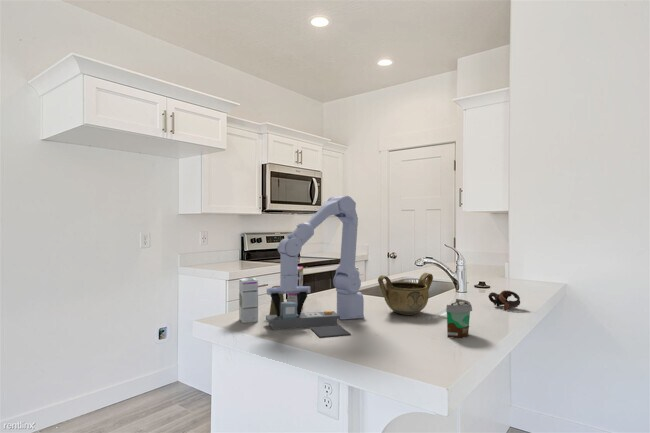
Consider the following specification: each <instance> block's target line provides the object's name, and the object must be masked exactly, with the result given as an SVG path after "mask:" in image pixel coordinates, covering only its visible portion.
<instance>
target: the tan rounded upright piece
mask: <svg viewBox="0 0 650 433" xmlns="http://www.w3.org/2000/svg"><path fill="white" fill-rule="evenodd" d="M274 287H280V285H274V286H271V288H274ZM284 295H285V294H279V297H280V314H281V302H285V300H284V299H285V298H284ZM268 315H276V309H275V305H274V303H273V300H272V298H271V301H270V308H269V314H268Z"/></svg>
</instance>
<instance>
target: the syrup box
mask: <svg viewBox="0 0 650 433" xmlns="http://www.w3.org/2000/svg"><path fill="white" fill-rule="evenodd" d="M238 280H239V282H238V283H239V287H238V289H239V293H238V295H239V298H238V300H239V301H238V303H239V305H238V309H239V311H238V312H239V313H238V314H239V318H238V320H239V321H240V322H241V323H242V324H248V323H249V324H250V323H258V322H259V280H257V278H254V277H246V278H245V277H244V278H239V279H238Z"/></svg>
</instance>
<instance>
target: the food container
mask: <svg viewBox="0 0 650 433" xmlns="http://www.w3.org/2000/svg"><path fill="white" fill-rule="evenodd" d="M445 312H446V328H447V329H446V330H447V332H446V333H447V338H449V337H454V338H453V339H464V338H463V337H465V338H468V337H469V331H470V330H469V329H470V317H471V316H470V315H471V312H473V306H472V304H471V302H470V301H469V300H465V299H462V298H461V299H460V298H456V299H455V302H452V303H450V304H446V310H445Z"/></svg>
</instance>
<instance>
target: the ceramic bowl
mask: <svg viewBox="0 0 650 433" xmlns="http://www.w3.org/2000/svg"><path fill="white" fill-rule="evenodd" d="M384 280H385V282H386V283H385V284H384ZM433 280H434V276H433V274H432V273H429V272H423V273H422V274H421V275H420V277H419V279H418V282H412V281H391V278H389V277H388V276H387V275H383V274H382V275H381V274H380V275H379V277H378V278H377V283H378V285H379V288H380V290H381V292H382V295H383V298H384V301H385V303H386V305H387V306H388V307H389V309H390V310H392V311H393V312H395V313H397V314H398V315H403V316H411V315H415V314H417V313H420V312H421V311H422V310H424V309H425V307H426V306H427V304H428V301H429V290H430V288H431V285H432V283H433Z"/></svg>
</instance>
